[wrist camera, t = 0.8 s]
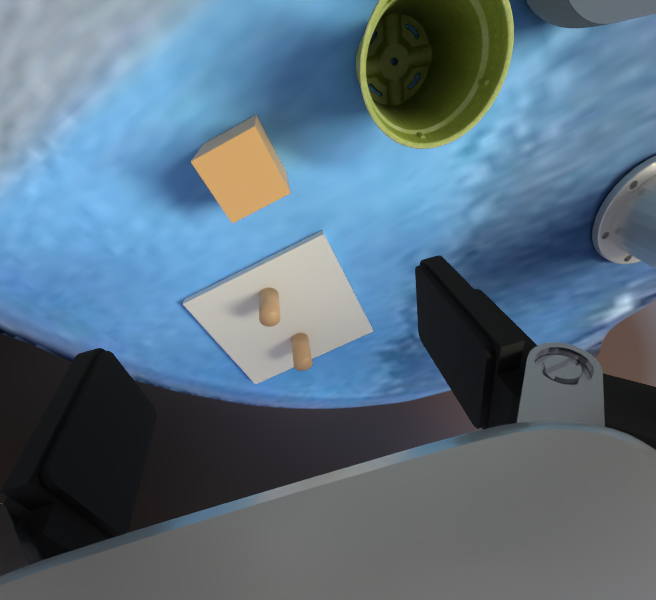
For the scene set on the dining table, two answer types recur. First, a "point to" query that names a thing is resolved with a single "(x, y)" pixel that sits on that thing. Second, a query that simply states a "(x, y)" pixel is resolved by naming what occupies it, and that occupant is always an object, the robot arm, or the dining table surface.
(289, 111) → the dining table surface
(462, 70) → the plant pot
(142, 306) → the dining table surface
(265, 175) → the tan cardboard-like box
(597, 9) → the smart speaker
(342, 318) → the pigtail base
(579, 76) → the dining table surface
